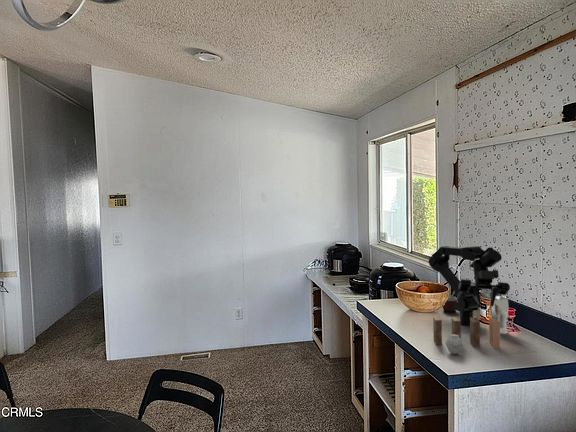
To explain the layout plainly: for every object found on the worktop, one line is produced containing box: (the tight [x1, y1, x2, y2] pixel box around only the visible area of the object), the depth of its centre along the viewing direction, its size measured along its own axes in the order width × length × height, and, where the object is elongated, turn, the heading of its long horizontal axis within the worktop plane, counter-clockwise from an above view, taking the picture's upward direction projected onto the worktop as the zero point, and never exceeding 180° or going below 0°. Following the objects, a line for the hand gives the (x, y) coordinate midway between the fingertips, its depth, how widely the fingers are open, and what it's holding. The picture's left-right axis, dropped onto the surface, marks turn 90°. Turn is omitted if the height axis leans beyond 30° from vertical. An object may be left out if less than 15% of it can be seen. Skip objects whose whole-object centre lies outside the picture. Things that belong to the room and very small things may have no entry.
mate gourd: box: [442, 290, 458, 315], centre depth 198 cm, size 8×8×15 cm
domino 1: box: [432, 315, 443, 346], centre depth 158 cm, size 2×5×10 cm, turn 168°
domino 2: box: [451, 316, 462, 340], centre depth 157 cm, size 2×5×10 cm, turn 168°
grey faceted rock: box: [445, 333, 464, 355], centre depth 147 cm, size 6×7×7 cm
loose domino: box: [488, 317, 501, 349], centre depth 154 cm, size 2×5×10 cm, turn 168°
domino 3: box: [469, 317, 481, 348], centre depth 155 cm, size 2×5×10 cm, turn 168°
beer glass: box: [489, 295, 509, 335], centre depth 168 cm, size 7×7×15 cm
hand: (486, 305), depth 160 cm, fingers open, 4 cm apart
